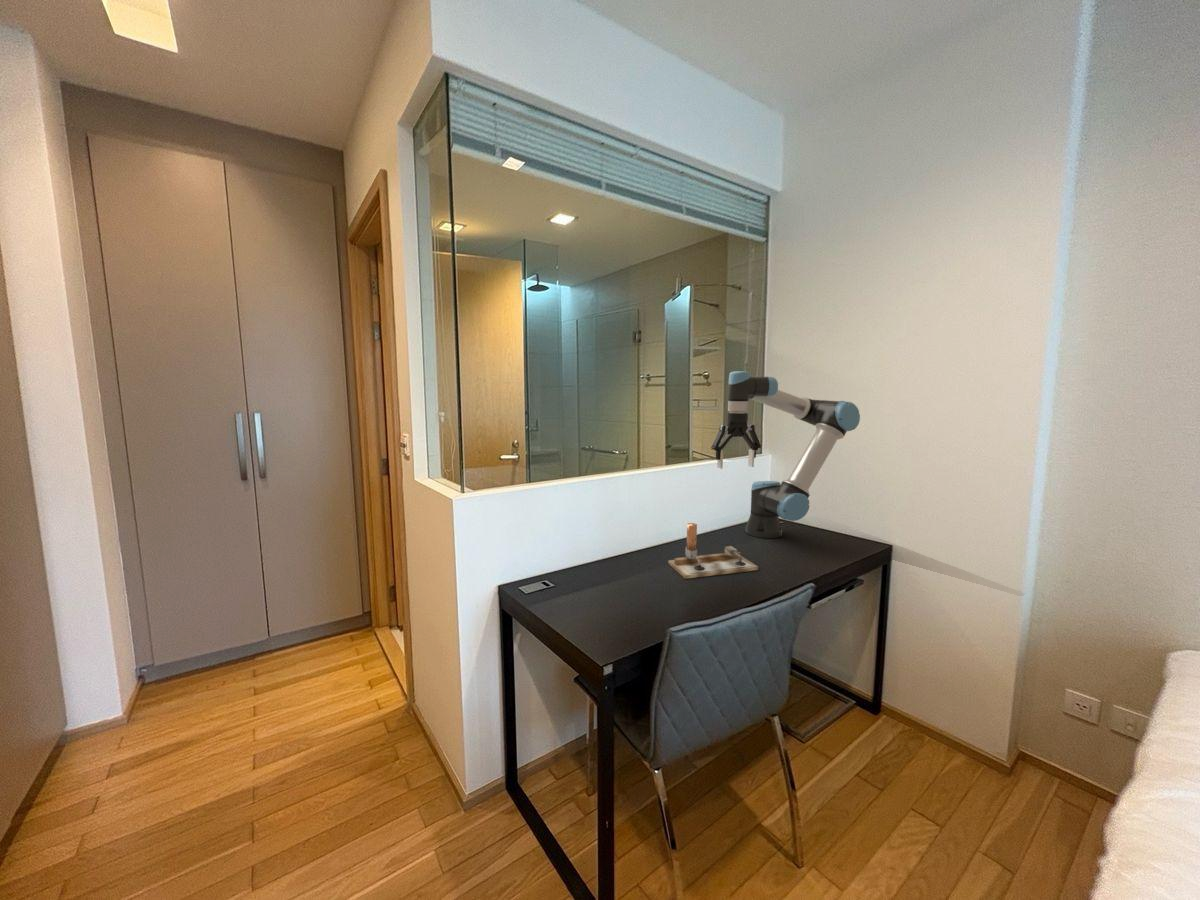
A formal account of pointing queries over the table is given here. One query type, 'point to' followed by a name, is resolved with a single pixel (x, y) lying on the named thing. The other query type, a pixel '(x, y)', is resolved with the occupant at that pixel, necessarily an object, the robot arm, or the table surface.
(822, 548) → the table surface
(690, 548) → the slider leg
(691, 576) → the holed mounting plate
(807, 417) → the robot arm
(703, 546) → the table surface
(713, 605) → the table surface
